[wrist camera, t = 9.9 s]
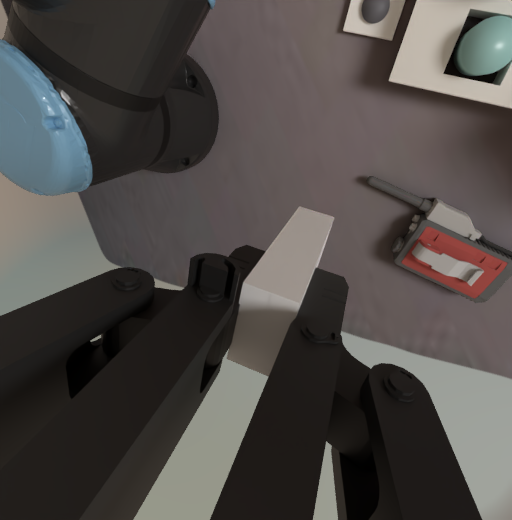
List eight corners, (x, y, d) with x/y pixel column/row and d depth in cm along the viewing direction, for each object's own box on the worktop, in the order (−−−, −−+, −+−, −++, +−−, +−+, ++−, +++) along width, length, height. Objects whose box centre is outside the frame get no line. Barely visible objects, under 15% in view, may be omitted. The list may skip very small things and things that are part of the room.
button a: (445, 71, 33) (452, 68, 30) (467, 20, 31) (477, 11, 28) (490, 80, 32) (503, 79, 29) (515, 28, 30) (532, 21, 27)
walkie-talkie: (536, 242, 38) (372, 167, 40) (553, 259, 34) (371, 175, 36) (483, 299, 42) (338, 229, 45) (492, 319, 39) (334, 242, 41)
